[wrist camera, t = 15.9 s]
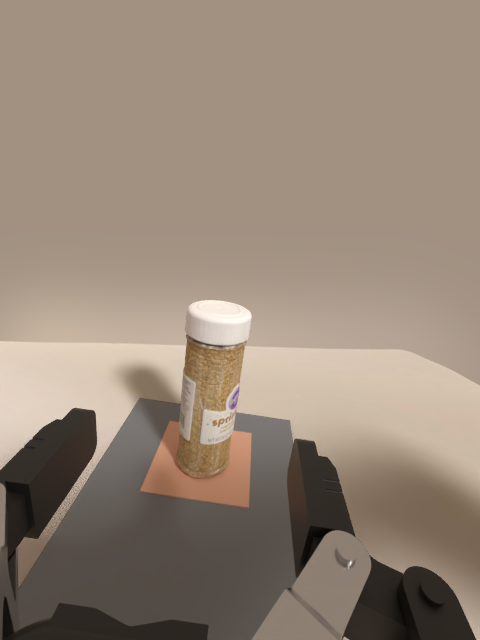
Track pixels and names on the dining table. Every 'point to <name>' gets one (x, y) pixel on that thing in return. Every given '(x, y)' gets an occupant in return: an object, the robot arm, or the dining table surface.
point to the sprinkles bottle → (210, 385)
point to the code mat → (174, 532)
